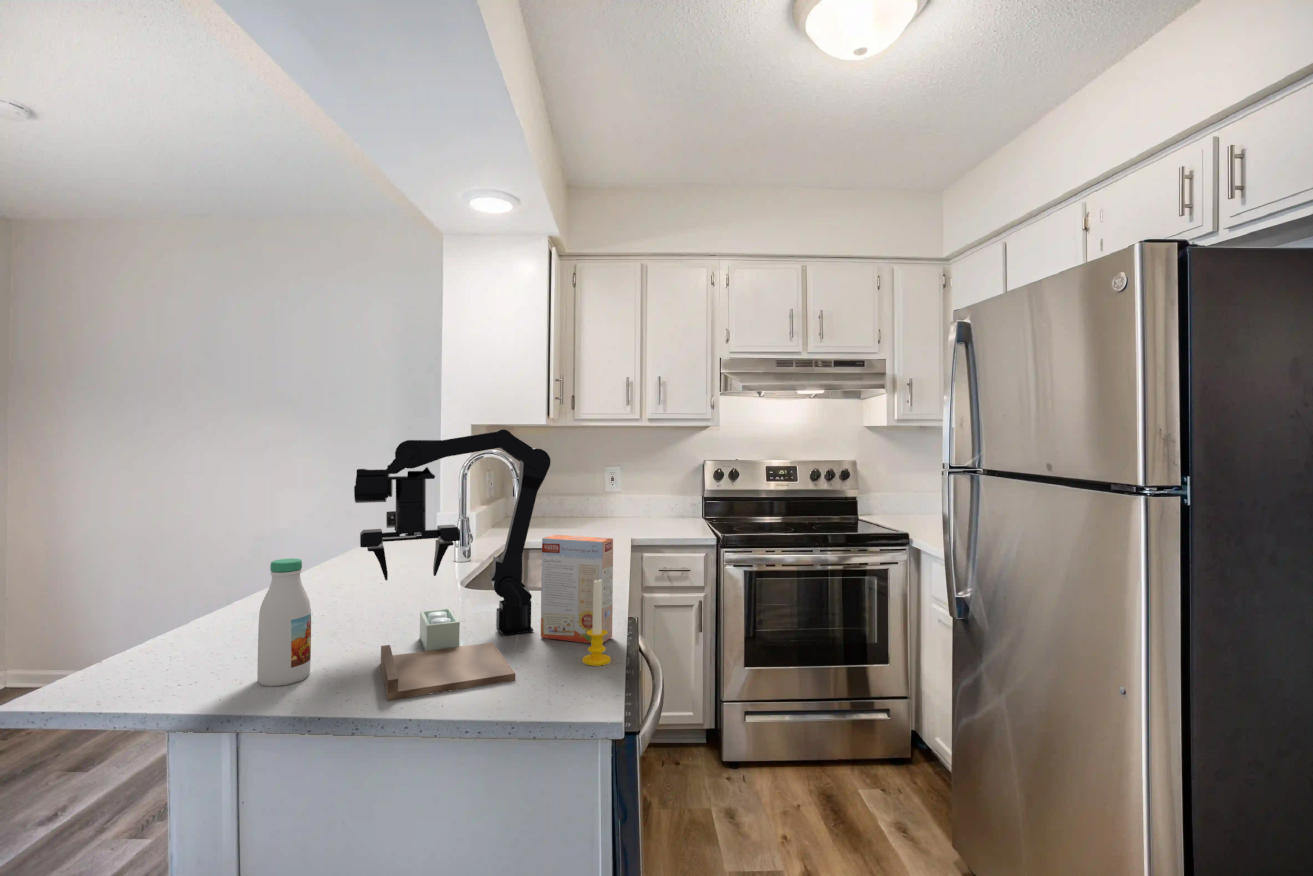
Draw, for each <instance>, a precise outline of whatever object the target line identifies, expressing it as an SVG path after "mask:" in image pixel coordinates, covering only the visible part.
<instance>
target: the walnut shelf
mask: <svg viewBox="0 0 1313 876" xmlns="http://www.w3.org/2000/svg"><path fill="white" fill-rule="evenodd" d="M380 667H381V672H382V677H383V684H384V690H385V694H386V699H387V702H389V701H396V700H401V699H408V698H413V697H414V696H415V697H419V696H420V695H421V696H426V695H425V694H427V695H431V694H430V693H434V694H438V693H437V692H440V693H444V692H443V691H446V692H450V691H449V690H452V691H457V690H456V689H459V690H463V689H462V688H465V689H471V688H477V687H483V686H487V685H488V686H489V685H494V684H501V683H507V682H513V681H516V672H515V671H514V670H513V668H512V667H511V665H510V664H509V662H508V661H507V660H506V659H505V658H504V656H503V654H502V653H501V652H500V651H499V649H498V648H497V647H496V645H495V644H494V643H493V642H485V643H476V644H471V645H470V644H469V645H463V646H459V647H453V648H446V649H438V650H430V651H425V650H423V651H416V652H409V653H401V654H395V655H394V654H393V651H392V647H391V645H390V644H387V645H386V644H385V645H380ZM470 687H471V688H470Z"/></svg>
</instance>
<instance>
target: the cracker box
mask: <svg viewBox="0 0 1313 876" xmlns="http://www.w3.org/2000/svg"><path fill="white" fill-rule="evenodd" d="M595 580H602V630H606V631H607V632H608V633H607V634H606V635H603V638H602V639H603V644H604V643H606V642H607V641H609V640H610V639H611V638H613V603H614V602H613V593H614V591H613V590H614V589H613V588H614V587H613V585H614V584H613V582H614V539H613V538H611V537H609V538H608V537H596V536H584V535H583V536H581V535H566V534H565V535H564V534H563V535H562V534H552V535H548V536H545V537H543V538H541V582H540V583H541V586H540V587H541V589H540V594H541V595H540V637H541V638H542V639H551V640H559V641H560V640H561V641H570V642H575V643H584V644H590V643H591V639H592V638H591V635H588V634H587V631H589V630H592V628H593V588H594V581H595Z"/></svg>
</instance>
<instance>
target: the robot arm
mask: <svg viewBox="0 0 1313 876" xmlns="http://www.w3.org/2000/svg"><path fill="white" fill-rule="evenodd" d="M495 449H501V450H502V451H504V452H505V453H506V454H508V455H509V456H511V457H512V458H514V459H515V460H516V461H518V462H519V467H518V468H519V469H518V471H519V472H518V489H517V490H518V491H517V495H516V500H515V504H514V508H513V511H512V516H511V519H510V525H509V527H508V533H507V536H506V540H505V544H504V547H503V551H502V553H501V555H500V556H499V557H496V556H493V558H492V567H491V570H490V571H489V573H488V576H489V579H490V581H491V584H492V587H493V590H494V592H495V593H496V595H497V596H499V598H503V599H502V600H499V602H498V608H496V614H495V615H496V618H495V619H496V621H495V622H496V625H495V627H496V629H497V630H498V631H499V632H500V633H501V634H502V636H507V635H516V634H524V633H532V632H533V633H534V628H533V627H532V597H533V595H532V593H531V592H530V591H529V588H528V587H527V586H526V584H524V583H523V553H524V550H525V545H526V543H527V542H526V540H527V538H528V537H527V536H528V532H529V528H530V524H531V520H532V516H533V512H534V508H535V504H536V499H537V496H538V495H537V494H538V491H539V490H540V488H541V486H542V484H543V483H544V481H545V479H546V476H547V474H548V471H549V469H550V468H551V461H552V460H551V457H550V454H548V452H547V451H546V450H544V449H542V448H537V447H536V448H535V447H532V446H530V445H529V444H527V443H526V442H524V441H523V440H521V439H519V438H518V437H516V436H515V435H514V434H512V433H511V431H509V430H508V429H503V428H502V429H498V430H496V431H491V432H484V433H479V434H472V435H466V436H460V437H453V438H448V439H438V440H437V439H430V440H429V439H408V440H404V441H402V442H400V443H399V444H398V445H397V447H396V448H395V451H394V459H393V460H392V462H390V464H387V467H386V469H381V468H380V469H379V468H378V469H367V468H358V469H356V477H355V485H354V488H353V490H354V491H353V494H354V495H353V496H354V502H355V504H365V503H369V504H370V503H387V499H388V498H393V489H394V488H393V487H394V485H393V481H395V510H392V511H390V510H389V511H386V515H385V517H386V520H385V521H386V528H387V529H390V528H393V529H394V531H391V532H386V531H385V532H383V530H382V528H371V529H362V530H361V532H359V546H360V548H366V549H367V552H373V553H374V555H375V557H376V559H377V561H378V563H379V566H380V568H381V571H382V574H383V577H384V580H385V581H388V580H389V579H388V575H389V574H388V567H387V559H386V553H385V546H384V543H387V542H399V541H401V542H404V541H415V540H417V541H418V540H427V539H428V540H429V539H430V540H431V539H435V548H434V549H435V551H434V557H433V558H434V559H433V566H432V567H433V569H432V570H433V571H432V574H433V577H436V576H437V574H438V572H439V568H440V565H441V562H442V561H443V558H444V556H445V554H446V553H447V550H448V548H449V547H451V546H454V545H455V544H454V542H459V541H461V530H460V528H459V527H458V526H457V525H456V524H441V525H440V524H439V525H437V526H436V529H426V528H427V520H426V519H427V517H426V516H427V515H426V514H427V513H426V510H427V506H426V505H427V504H426V503H427V502H426V501H427V499H426V498H427V497H426V496H427V494H426V493H427V492H426V490H427V486H426V485H427V484H426V480H435V478H436V475H435V474H434V473H433V472H432V471H431V470H430V468H429V467H427V466H425V468H424V469H422V470H408V471H407V475H398V476H397V475H396V474H398V473H400V472H402V471H403V470H405V469H416V468H418V467H421V466H424V465H427V464H430V463H434V462H436V461H438V460H441V459H444V458H447V457H454V456H459V455H461V456H462V455H466V454H471V453H476V452H477V453H478V452H483V451H489V450H495ZM390 475H393V476H390ZM395 475H396V476H395Z"/></svg>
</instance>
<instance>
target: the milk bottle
mask: <svg viewBox="0 0 1313 876" xmlns="http://www.w3.org/2000/svg"><path fill="white" fill-rule="evenodd" d="M302 568H303V561H302V559H301V558H293V557H292V558H290V557H289V558H280V559H276V560H272V561H271V562H270V573H269V574H270V576H271V580H270V581H271V582H270V585H269V588H268V589H267V592H266V594H265V596H264V597H263V600H262V602H261V604H260V608H259V615H258V631H257V633H258V634H257V637H258V638H257V682H258V683H259V685H262V686H265V687H279V686H280V687H281V686H287V685H292V684H296V683H298V682H301V681H303V680H305V679H306V678H308V677H309V675H310V673H311V662H312V661H311V659H312V658H311V656H312V655H311V653H312V652H311V650H312V649H311V648H312V608H311V606H312V605H311V601H310V598H309V596H308V593H307V591H306V590H305V588H304V586H303V582H302V579H301V573H303V571H302Z"/></svg>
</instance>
